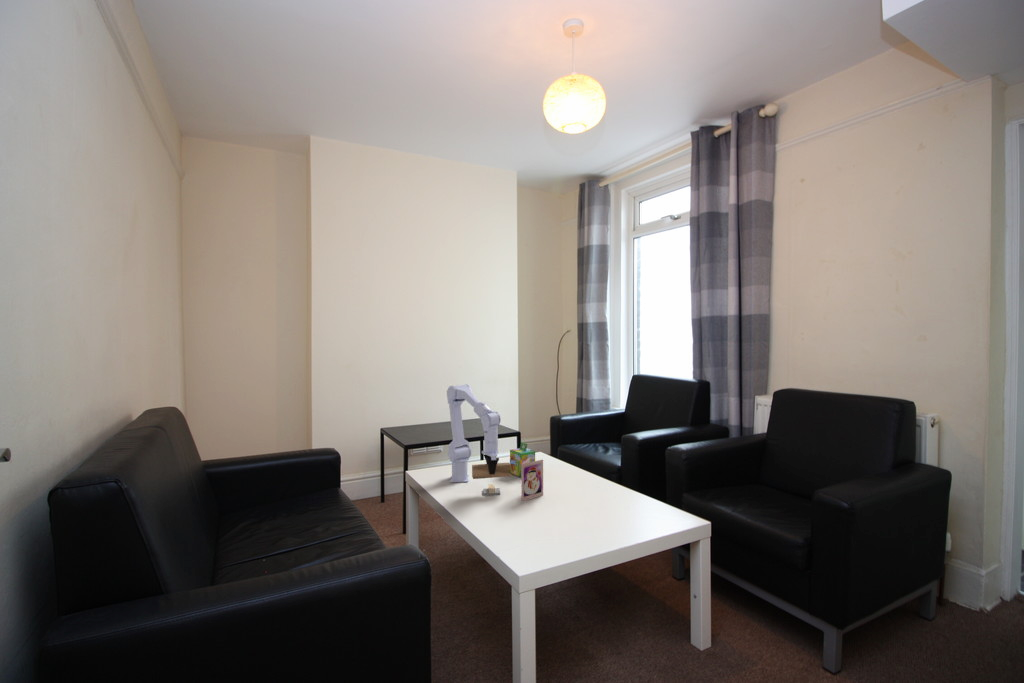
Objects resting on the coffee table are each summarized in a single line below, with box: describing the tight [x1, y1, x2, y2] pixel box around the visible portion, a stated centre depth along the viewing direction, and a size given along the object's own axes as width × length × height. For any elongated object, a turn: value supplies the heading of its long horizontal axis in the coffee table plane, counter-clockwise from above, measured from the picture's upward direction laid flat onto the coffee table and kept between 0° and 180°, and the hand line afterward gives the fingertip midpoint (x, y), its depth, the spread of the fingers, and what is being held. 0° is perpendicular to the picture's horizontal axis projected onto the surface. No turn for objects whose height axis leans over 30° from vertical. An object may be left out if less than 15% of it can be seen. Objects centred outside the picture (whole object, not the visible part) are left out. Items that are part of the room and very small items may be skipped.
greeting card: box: [520, 457, 544, 502], centre depth 194 cm, size 11×7×15 cm, turn 126°
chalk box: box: [509, 442, 536, 478], centre depth 225 cm, size 9×9×15 cm
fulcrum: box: [482, 483, 501, 496], centre depth 199 cm, size 6×7×2 cm
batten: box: [471, 462, 511, 480], centre depth 199 cm, size 4×16×5 cm, turn 101°
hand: (491, 472), depth 199 cm, fingers closed on batten, 3 cm apart
